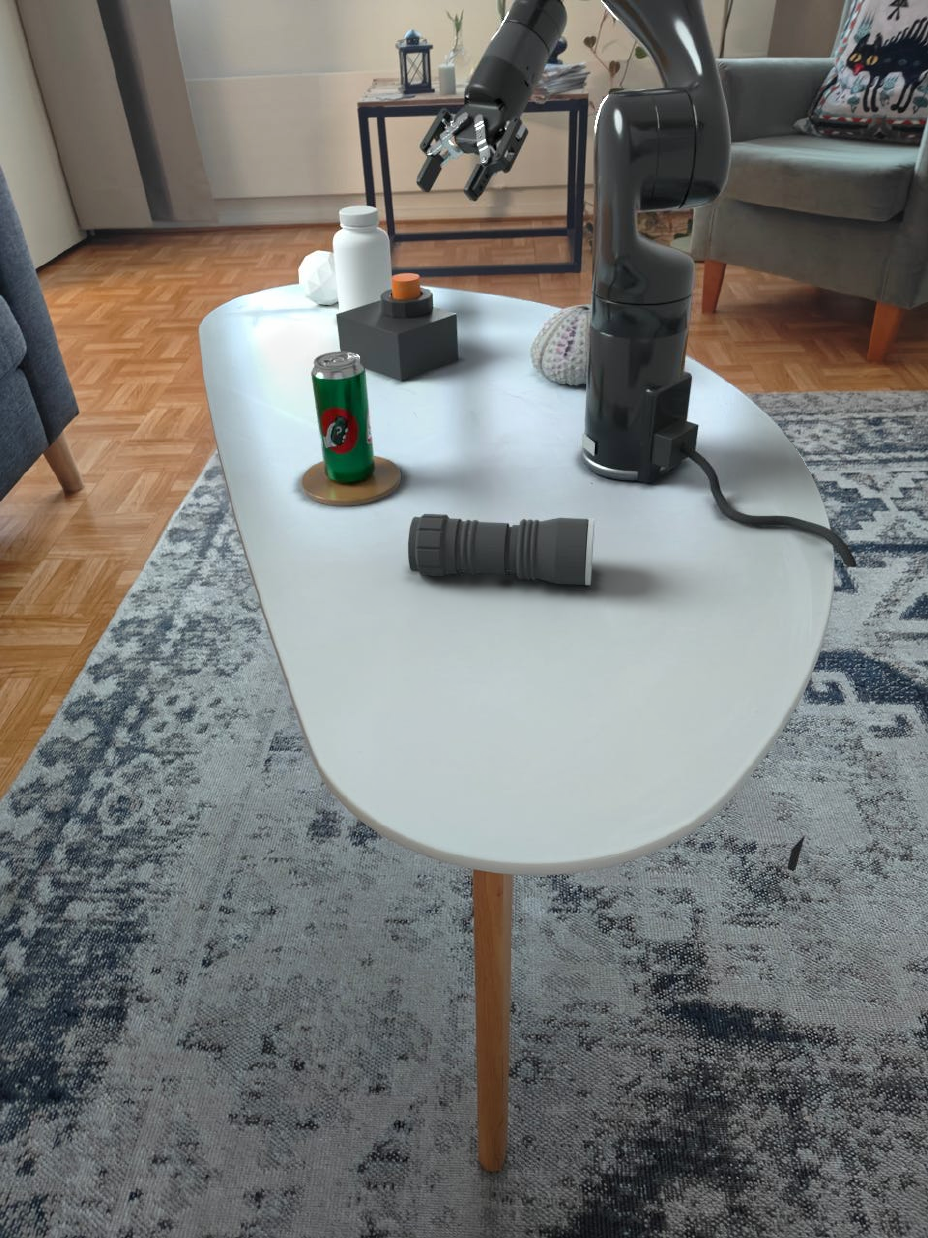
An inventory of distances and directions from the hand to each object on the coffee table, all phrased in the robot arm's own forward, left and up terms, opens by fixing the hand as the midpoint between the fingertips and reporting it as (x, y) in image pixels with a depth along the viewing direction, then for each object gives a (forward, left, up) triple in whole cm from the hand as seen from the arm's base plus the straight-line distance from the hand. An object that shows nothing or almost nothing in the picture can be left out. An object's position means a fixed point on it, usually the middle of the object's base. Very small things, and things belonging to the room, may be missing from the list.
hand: (445, 192), depth 112 cm
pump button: (0, +8, -11) cm, 13 cm away
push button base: (0, +10, -19) cm, 21 cm away
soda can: (-22, +35, -18) cm, 45 cm away
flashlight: (-45, +38, -19) cm, 62 cm away
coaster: (-22, +36, -19) cm, 46 cm away
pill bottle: (+16, +2, -19) cm, 25 cm away
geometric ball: (+27, +1, -19) cm, 33 cm away
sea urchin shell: (-21, -2, -19) cm, 28 cm away
